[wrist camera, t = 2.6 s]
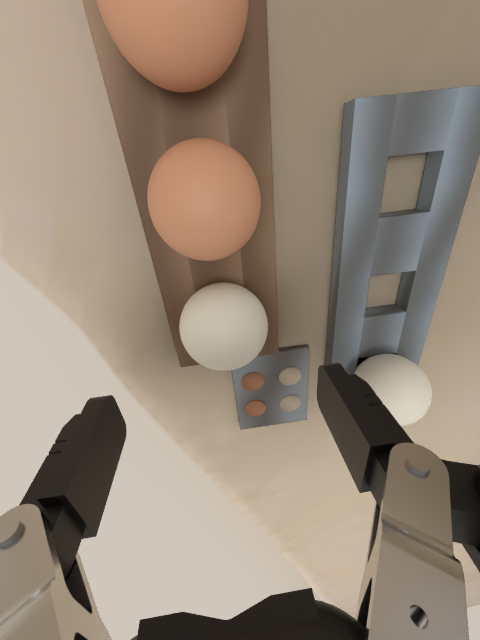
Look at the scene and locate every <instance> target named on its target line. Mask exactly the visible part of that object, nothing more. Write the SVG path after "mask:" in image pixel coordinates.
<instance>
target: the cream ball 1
mask: <svg viewBox="0 0 480 640" xmlns="http://www.w3.org/2000/svg"><path fill="white" fill-rule="evenodd" d="M179 331H180V336H181V340H182V343H183V345H184V347H185V349H186V351H187V352H188V354H189V355H190V356H191V357H192V358H193V359H194V360H195V361H196V362H198V363H199V364H201V365H202V366H204V367H206V368H209V369H212V370H217V371H230V370H235V369H238V368H241V367H243V366H245V365H247V364H248V363H250V362H251V361H252V360H253V359H254V358H255V357H256V356H257V355H258V354H259V353H260V351H261V350H262V348H263V346H264V344H265V341H266V338H267V333H268V321H267V316H266V312H265V310H264V307H263V305H262V304H261V302H260V301H259V299H258V298H257V297H256V296H255V295H254V294H253V293H252V292H250V291H249V290H248V289H246V288H244V287H242V286H240V285H237V284H233V283H224V282H223V283H214V284H211V285H208V286H205V287H203V288H202V289H200V290H198V291H197V292H196V293H195V294H193V295H192V296H191V298H190V299H189V300H188V301H187V303H186V304H185V306H184V308H183V310H182V314H181V317H180V324H179Z"/></svg>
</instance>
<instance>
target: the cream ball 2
mask: <svg viewBox="0 0 480 640" xmlns="http://www.w3.org/2000/svg"><path fill="white" fill-rule="evenodd" d="M354 374H356V375H357V376H359V377H360V378H362V379H363V380H365V381H366V382H368V384H369V385H370V386H371V388H372V389H373V390H374V392H375V393H376V396H378V397H379V398H380V400H381V401H382V402H383V405H385V406H386V407H387V409H388V410H389V411H390V413H391V414H392V415H393V417H394V418H395V419H396V421H397V422H398V423H399V425H400V426H405V425H409V424H412V423H414V422H416V421H418V420H419V419H421V418H422V417H423V416H424V415H425V413H426V412H427V411H428V409H429V407H430V404H431V400H432V389H431V385H430V382H429V379H428V377H427V376H426V374H425V373H424V371H423V370H422V369H421V368H420V367H419V366H418V365H417V364H415V363H414V362H412V361H411V360H409V359H407V358H405V357H402V356H399V355H395V354H379V355H375V356H372V357H370V358H368V359H366V360H365V361H363V362H362V363H361V364H360V365H359V366H358V367H357V369H356V370H355V372H354Z"/></svg>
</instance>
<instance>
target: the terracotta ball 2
mask: <svg viewBox="0 0 480 640" xmlns="http://www.w3.org/2000/svg"><path fill="white" fill-rule="evenodd" d="M147 199H148V208H149V213H150V217H151V220H152V222H153V224H154V227H155V229H156V230H157V232H158V234H159V235H160V236H161V238H162V239H163V240H164V241H165V242H166V243H167V244H168V245H169V246H170V247H171V248H172V249H174V250H175V251H177V252H178V253H180V254H182V255H184V256H186V257H188V258H191V259H195V260H200V261H214V260H219V259H222V258H226V257H228V256H230V255H232V254H234V253H235V252H237V251H238V250H239V249H241V248H242V247H243V246H244V245H245V244H246V243H247V242H248V240H249V239H250V237H251V236H252V234H253V232H254V231H255V228H256V226H257V223H258V220H259V216H260V210H261V195H260V189H259V185H258V181H257V179H256V176H255V174H254V172H253V170H252V168H251V166H250V165H249V164H248V162H247V161H246V160H245V158H244V157H243V156H242V155H241V154H240V153H239V152H237V151H236V150H235V149H234V148H232V147H230V146H229V145H227V144H225V143H223V142H221V141H218V140H214V139H209V138H193V139H188V140H185V141H182V142H179V143H178V144H176V145H174V146H172V147H171V148H170V149H169V150H167V151H166V152H165V153H164V154H163V155H162V156H161V157H160V159H159V160H158V162H157V163H156V165H155V167H154V169H153V171H152V173H151V176H150V179H149V184H148V192H147Z"/></svg>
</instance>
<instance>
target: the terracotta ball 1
mask: <svg viewBox="0 0 480 640" xmlns="http://www.w3.org/2000/svg"><path fill="white" fill-rule="evenodd" d="M96 1H97V4H98V7H99V11H100V13H101V16H102V18H103V21H104V23H105V25H106V27H107V29H108V31H109V33H110V35H111V37H112V39H113V41H114V42H115V44H116V45H117V47H118V49H119V50H120V52H121V53H122V54H123V56H124V57H125V58H126V60H127V61H128V62H129V63H130V64H131V65H132V66H133V67H134V68H135V69H136V70H137V71H138V72H139V73H140V74H141V75H142V76H143V77H145V78H146V79H147V80H149V81H150V82H152V83H153V84H155V85H157V86H159V87H161V88H163V89H167V90H170V91H174V92H193V91H197V90H200V89H203V88H205V87H207V86H209V85H211V84H212V83H214V82H215V81H216V80H217V79H218V78H220V77H221V75H222V74H223V73H224V72H225V71H226V70H227V68H228V67H229V66H230V64H231V63H232V61H233V59H234V57H235V55H236V53H237V51H238V48H239V46H240V43H241V41H242V38H243V34H244V30H245V26H246V20H247V14H248V2H249V0H96Z"/></svg>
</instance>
